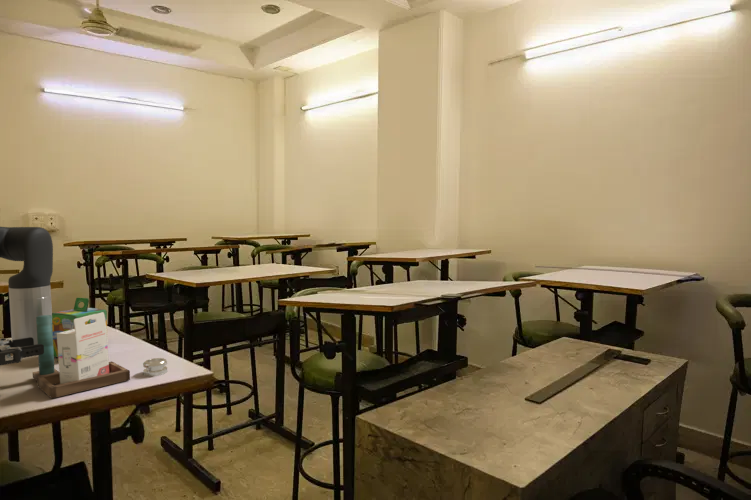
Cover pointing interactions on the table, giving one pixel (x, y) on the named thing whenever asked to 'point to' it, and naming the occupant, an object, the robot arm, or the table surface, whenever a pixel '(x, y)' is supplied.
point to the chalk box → (72, 319)
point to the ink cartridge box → (83, 349)
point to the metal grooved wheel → (155, 367)
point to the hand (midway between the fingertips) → (38, 345)
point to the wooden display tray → (51, 376)
